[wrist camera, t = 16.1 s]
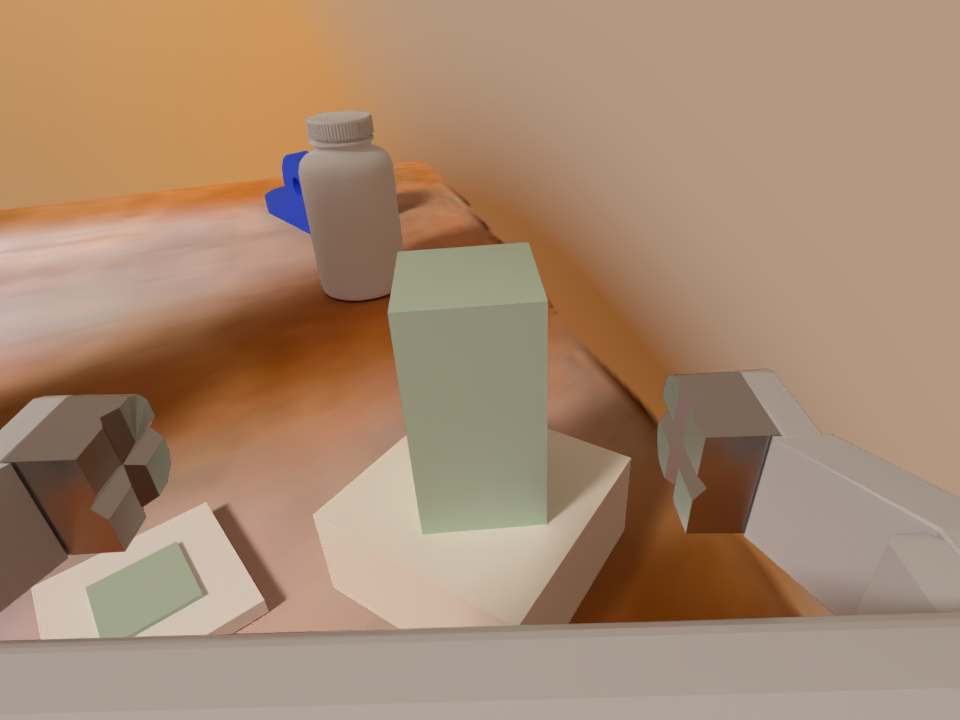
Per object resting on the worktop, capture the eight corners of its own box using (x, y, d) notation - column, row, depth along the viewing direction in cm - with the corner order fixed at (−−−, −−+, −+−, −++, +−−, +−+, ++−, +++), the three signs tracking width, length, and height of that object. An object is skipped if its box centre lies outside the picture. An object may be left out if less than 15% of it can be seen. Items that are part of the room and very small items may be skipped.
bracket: (383, 222, 73) (371, 144, 68) (320, 240, 68) (303, 159, 64) (315, 194, 85) (301, 127, 80) (258, 208, 80) (240, 138, 76)
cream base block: (334, 591, 28) (312, 514, 25) (460, 465, 35) (453, 395, 32) (520, 709, 23) (517, 628, 20) (623, 535, 30) (631, 457, 27)
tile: (38, 598, 28) (28, 584, 28) (210, 512, 32) (205, 499, 32) (66, 735, 23) (54, 721, 22) (268, 611, 27) (263, 597, 26)
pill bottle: (425, 280, 57) (406, 110, 49) (356, 312, 52) (322, 129, 44) (373, 261, 61) (348, 104, 53) (305, 289, 57) (267, 120, 49)
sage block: (422, 534, 24) (387, 313, 19) (425, 451, 28) (397, 251, 23) (546, 524, 24) (548, 301, 19) (531, 443, 28) (528, 242, 23)
